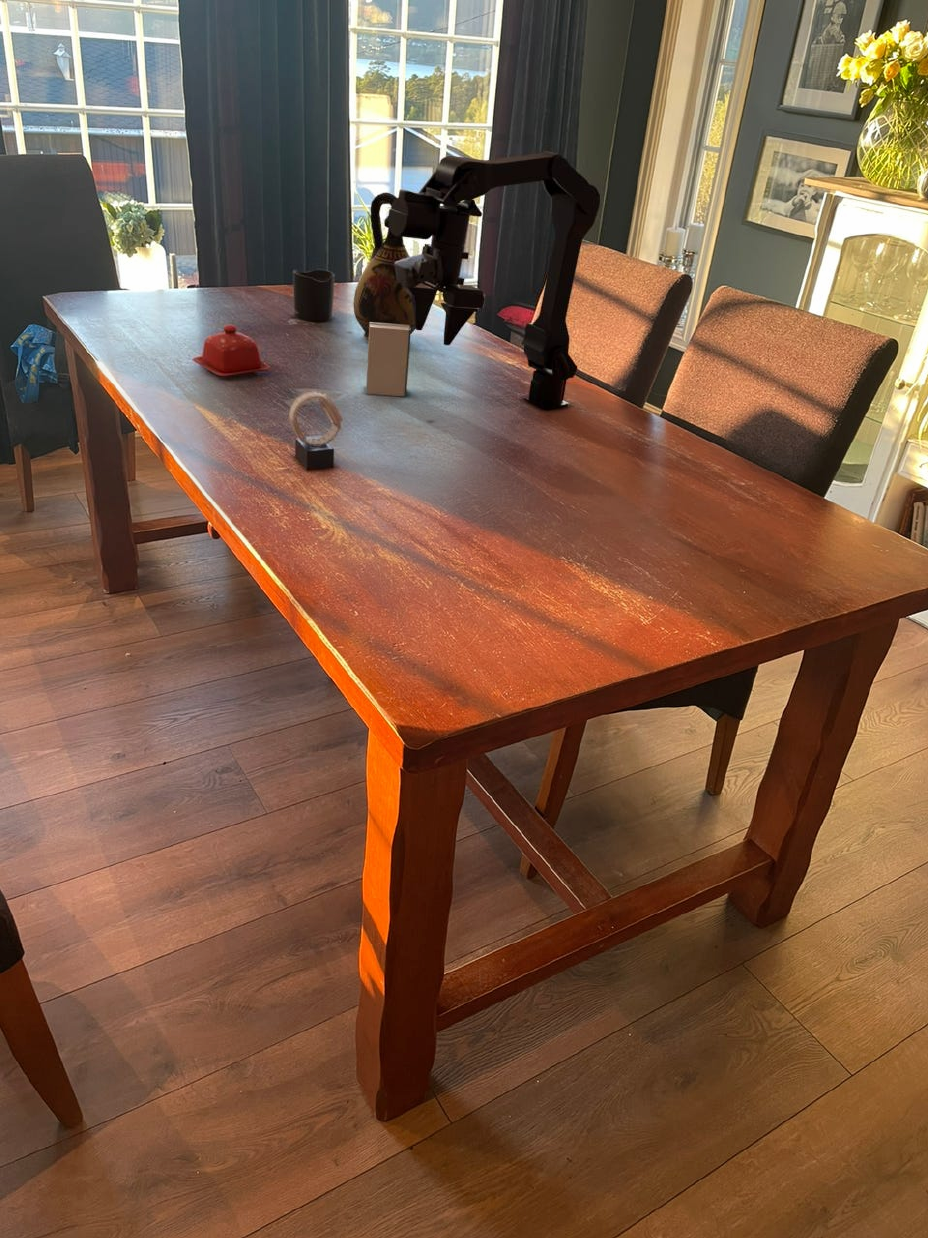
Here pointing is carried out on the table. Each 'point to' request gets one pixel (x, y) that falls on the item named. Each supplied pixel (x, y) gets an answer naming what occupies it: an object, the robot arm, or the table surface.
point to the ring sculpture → (315, 448)
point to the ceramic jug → (383, 278)
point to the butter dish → (230, 354)
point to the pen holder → (313, 295)
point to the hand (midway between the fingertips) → (432, 337)
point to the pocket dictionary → (388, 359)
